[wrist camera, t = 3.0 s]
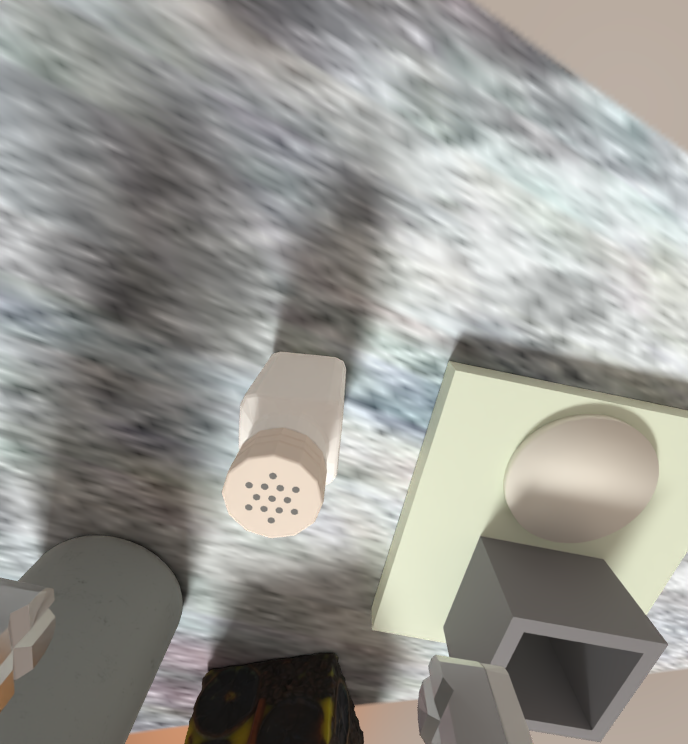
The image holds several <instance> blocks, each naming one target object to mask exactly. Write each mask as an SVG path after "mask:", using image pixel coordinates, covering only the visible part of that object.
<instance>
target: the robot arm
mask: <svg viewBox="0 0 688 744" xmlns="http://www.w3.org/2000/svg"><path fill="white" fill-rule="evenodd" d="M54 601H55V598H54V589H53V588H49V587H44V586H39V585H34V584H29V583H24V582H19V581H14V580H9V579H4V578H0V712H1V711H2V710H3V708H4V707H5V706H6V704H7V703H8V702H9V700H10V699H11V698H12V696H13V695H14V694H15V684H16V680H17V679H18V678H20V677H21V676H23V675H25V674H26V673H28V672H29V671H31V670H33V669H34V667H35V666H36V665H37V663H38V662H39V661H40V659H41V658H42V656H43V655H44V654H45V652H46V650H47V648H48V646H49V644H50V642H51V640H52V638H53V634H54V630H55V626H56V618H55V615H54V614H53V613H52V612H51V610H50V609H49V607H50V606H51V604H52V603H53V602H54ZM428 667H429V673H430V676H429V677H428V678H426V679H425V680H423V682H422V685H421V688H420V691H419V698H418V723H419V732H420V736H421V737H422V739H423V740H424V742H425V744H534V743H533V740H532V738H531V735H530V732H529V729H528V726H527V724H526V721H525V718H524V715H523V713H522V710H521V707H520V704H519V701H518V699H517V696H516V693H515V690H514V688H513V685H512V682H511V679H510V676H509V674H508V672H507V671H506V669H505V668H504V667H501V666H497V665H490V664H484V663H479V662H477V661H471V660H464V659H458V658H452V657H445V656H439V655H435V656H433V657H432V658H431V661H430V663H429V666H428Z"/></svg>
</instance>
